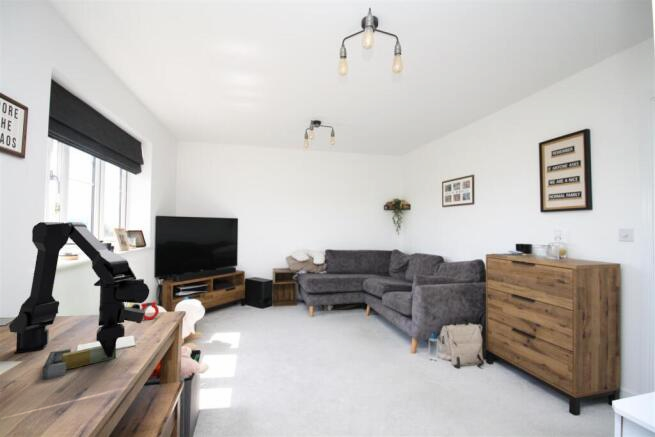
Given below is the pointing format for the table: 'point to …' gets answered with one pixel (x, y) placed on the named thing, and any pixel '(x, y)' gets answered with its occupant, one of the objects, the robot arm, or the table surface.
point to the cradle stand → (55, 365)
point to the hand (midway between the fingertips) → (110, 354)
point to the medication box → (86, 357)
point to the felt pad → (120, 343)
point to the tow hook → (152, 304)
